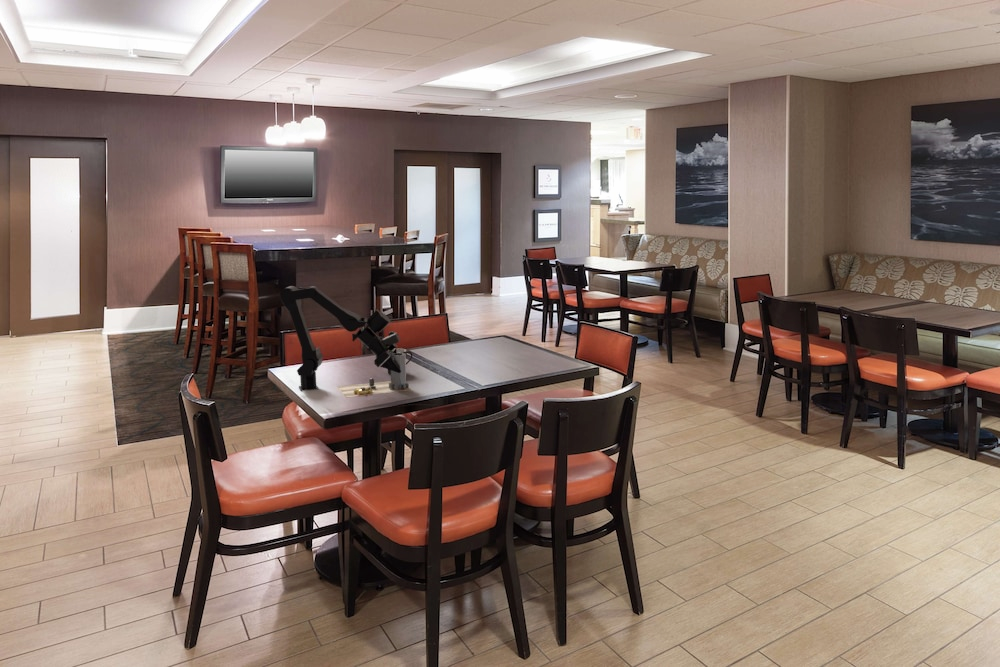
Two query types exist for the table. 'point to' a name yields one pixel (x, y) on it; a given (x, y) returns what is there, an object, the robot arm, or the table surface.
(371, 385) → the steel peg
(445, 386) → the table surface
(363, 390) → the brass gear
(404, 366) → the grey octagonal tube
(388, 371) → the coffee mug
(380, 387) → the gear board
